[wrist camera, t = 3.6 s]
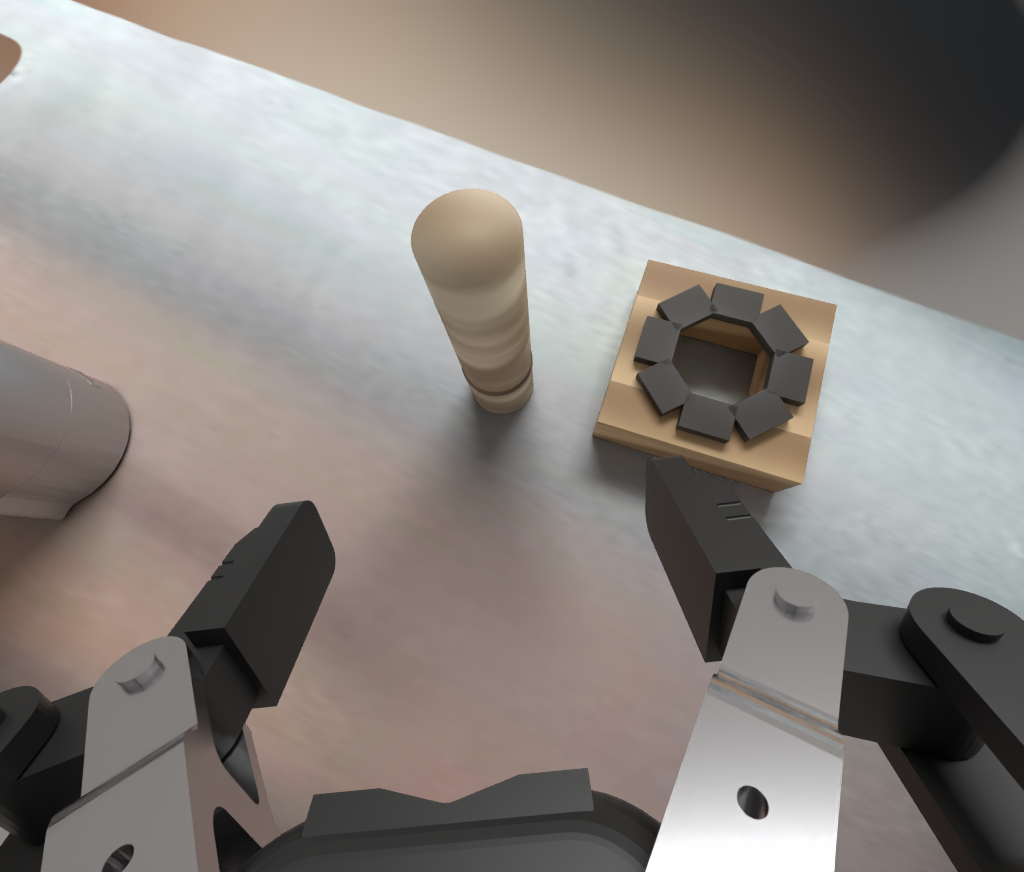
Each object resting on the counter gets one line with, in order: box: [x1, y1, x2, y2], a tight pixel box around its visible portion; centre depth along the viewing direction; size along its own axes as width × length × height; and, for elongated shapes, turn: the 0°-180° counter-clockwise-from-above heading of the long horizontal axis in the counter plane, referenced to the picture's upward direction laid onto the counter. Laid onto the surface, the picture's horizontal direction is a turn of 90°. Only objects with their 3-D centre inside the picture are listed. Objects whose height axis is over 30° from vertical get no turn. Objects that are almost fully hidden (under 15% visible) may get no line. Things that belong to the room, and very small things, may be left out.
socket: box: [592, 260, 837, 492], centre depth 27 cm, size 11×11×4 cm
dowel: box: [411, 189, 533, 414], centre depth 23 cm, size 4×4×14 cm
